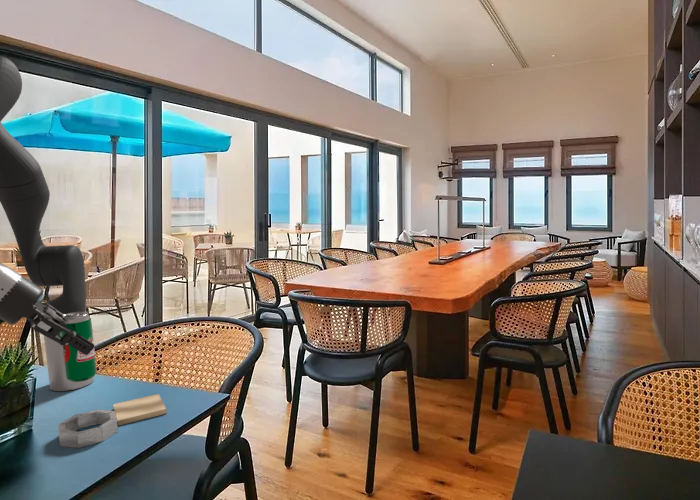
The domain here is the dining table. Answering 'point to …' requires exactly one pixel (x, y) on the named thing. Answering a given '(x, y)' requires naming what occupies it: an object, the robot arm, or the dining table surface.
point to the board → (139, 409)
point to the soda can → (74, 360)
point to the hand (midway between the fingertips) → (89, 346)
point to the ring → (89, 436)
